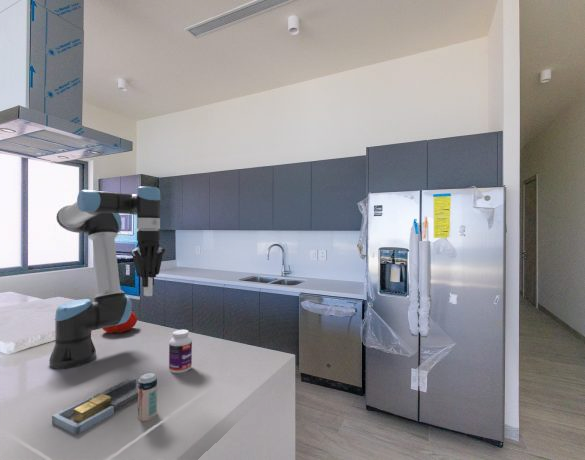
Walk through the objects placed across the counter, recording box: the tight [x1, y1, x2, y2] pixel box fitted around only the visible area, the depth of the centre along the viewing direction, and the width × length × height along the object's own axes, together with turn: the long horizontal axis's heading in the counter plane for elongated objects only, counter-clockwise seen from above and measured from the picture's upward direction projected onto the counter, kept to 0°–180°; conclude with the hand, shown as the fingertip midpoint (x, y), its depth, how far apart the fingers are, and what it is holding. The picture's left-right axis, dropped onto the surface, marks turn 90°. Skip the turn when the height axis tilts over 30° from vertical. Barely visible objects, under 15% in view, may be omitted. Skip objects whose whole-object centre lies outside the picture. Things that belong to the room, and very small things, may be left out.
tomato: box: [101, 311, 138, 334], centre depth 154 cm, size 14×16×10 cm
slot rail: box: [92, 377, 138, 413], centre depth 94 cm, size 10×13×2 cm
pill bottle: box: [168, 329, 193, 374], centre depth 113 cm, size 8×8×14 cm
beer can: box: [137, 371, 158, 422], centre depth 85 cm, size 5×5×12 cm
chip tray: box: [51, 396, 115, 436], centre depth 83 cm, size 11×10×2 cm
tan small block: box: [72, 402, 97, 423], centre depth 84 cm, size 4×4×3 cm
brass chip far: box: [89, 394, 111, 413], centre depth 87 cm, size 4×4×3 cm
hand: (148, 295), depth 108 cm, fingers closed
